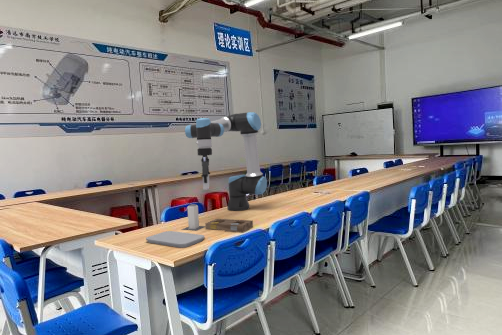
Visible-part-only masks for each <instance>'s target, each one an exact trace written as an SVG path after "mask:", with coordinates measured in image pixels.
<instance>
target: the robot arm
mask: <svg viewBox="0 0 502 335" xmlns="http://www.w3.org/2000/svg"><path fill="white" fill-rule="evenodd" d="M261 128H262V122H261V118H260V116H259V115H258V114H257V112H253V111H252V112H251V111H249V112H239V113H233V114H230V115H226V116H222V117H221V118H219V119H216V120H211V119H210V118H208V117H204V118H201V117H200V118H196V120H195V124H188V125H186V126H185V129H184V133H185V134H184V135H185V136H186V137H187V139H196V142H195V144H197V146H196V147H197V156H199V157H201V156H202V157H201V159H200V162H201V168H202V174H201V175H200V177H201V178H202V189H203V190H205V191H206V190H209V187H210V186H211V184H210V175H211V172H210V169H209V168H210V166H209V165H210V159H209V157H208V156H212V154H213V149H212V144H213V142H212V138H216V137H217V138H219V137H222V136H223V135H224V134H225V133H226V132H239V133H240V136H242V137H243V138H242V139H243V146H244V147H243V148H244V157H245V163H246V164H245V165H246V174H240V175H239V174H237V175H232V176H230V177H228V197H229V199H228V203H227V211H231V212H232V211H233V212H239V211H246V210H249V209H250V203H249V200H248V198H247V195H255V196H256V195H263V194H264V193H265V191H266V190H267V187H268V180H267V177H266V176H264V173H263V172H262V171H261V169H260V159H259V158H260V156H259V149H258V137H257V135H258V134H259V131H260V130H261Z"/></svg>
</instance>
